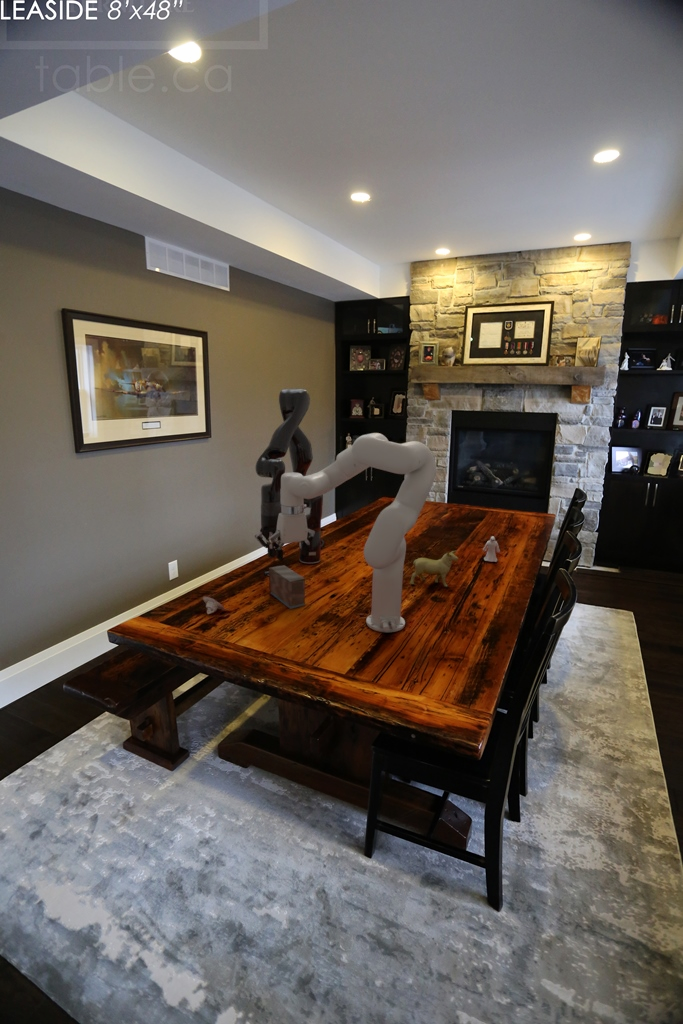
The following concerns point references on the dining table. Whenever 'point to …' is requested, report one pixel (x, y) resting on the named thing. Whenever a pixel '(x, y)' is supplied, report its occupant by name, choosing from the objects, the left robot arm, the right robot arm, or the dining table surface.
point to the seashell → (212, 605)
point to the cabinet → (287, 586)
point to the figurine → (491, 550)
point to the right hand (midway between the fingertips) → (292, 557)
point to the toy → (434, 567)
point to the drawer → (269, 576)
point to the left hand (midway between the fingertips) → (271, 557)
